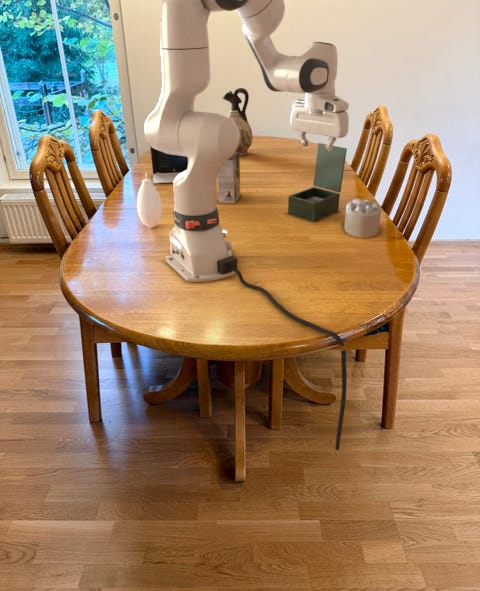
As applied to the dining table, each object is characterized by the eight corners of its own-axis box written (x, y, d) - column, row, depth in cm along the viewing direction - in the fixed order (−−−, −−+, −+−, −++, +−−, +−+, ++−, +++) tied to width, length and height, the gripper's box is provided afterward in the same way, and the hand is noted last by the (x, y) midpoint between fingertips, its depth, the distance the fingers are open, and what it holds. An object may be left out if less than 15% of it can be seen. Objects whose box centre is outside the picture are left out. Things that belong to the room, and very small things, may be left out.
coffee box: (223, 194, 184) (222, 151, 176) (240, 195, 183) (240, 152, 175) (218, 202, 177) (216, 158, 169) (235, 203, 176) (234, 158, 167)
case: (313, 222, 159) (315, 203, 156) (287, 213, 166) (288, 196, 163) (338, 211, 168) (339, 193, 164) (312, 203, 174) (313, 186, 171)
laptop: (152, 184, 196) (149, 151, 189) (153, 175, 207) (149, 144, 200) (197, 182, 198) (195, 149, 191) (195, 173, 209) (193, 142, 202)
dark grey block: (310, 216, 162) (311, 206, 160) (296, 212, 165) (297, 202, 163) (327, 209, 167) (328, 199, 165) (313, 205, 171) (314, 195, 169)
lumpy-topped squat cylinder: (376, 222, 158) (379, 196, 154) (379, 238, 147) (383, 211, 143) (343, 221, 160) (346, 195, 155) (344, 237, 149) (347, 209, 144)
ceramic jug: (216, 157, 232) (213, 89, 217) (226, 149, 245) (224, 84, 230) (250, 159, 228) (250, 90, 212) (259, 151, 240) (259, 85, 225)
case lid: (345, 148, 157) (354, 147, 161) (318, 143, 164) (326, 142, 167) (339, 192, 164) (347, 190, 167) (313, 185, 171) (321, 183, 174)
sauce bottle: (140, 232, 154) (133, 176, 145) (138, 223, 160) (131, 169, 151) (165, 229, 155) (160, 173, 146) (162, 220, 162) (157, 166, 153)
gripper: (286, 99, 153) (285, 144, 160) (341, 106, 140) (336, 155, 147) (299, 97, 157) (297, 141, 164) (353, 104, 144) (348, 151, 151)
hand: (316, 148), depth 155 cm, fingers open, 8 cm apart
